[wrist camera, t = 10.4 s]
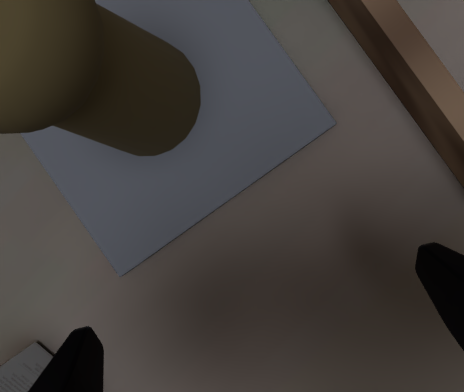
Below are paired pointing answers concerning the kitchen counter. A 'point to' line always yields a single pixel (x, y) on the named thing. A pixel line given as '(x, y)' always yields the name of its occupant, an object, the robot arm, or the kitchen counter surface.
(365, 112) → the kitchen counter surface
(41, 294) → the kitchen counter surface
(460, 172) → the walnut frame
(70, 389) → the robot arm
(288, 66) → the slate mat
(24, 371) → the small box
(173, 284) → the kitchen counter surface
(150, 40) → the cork
